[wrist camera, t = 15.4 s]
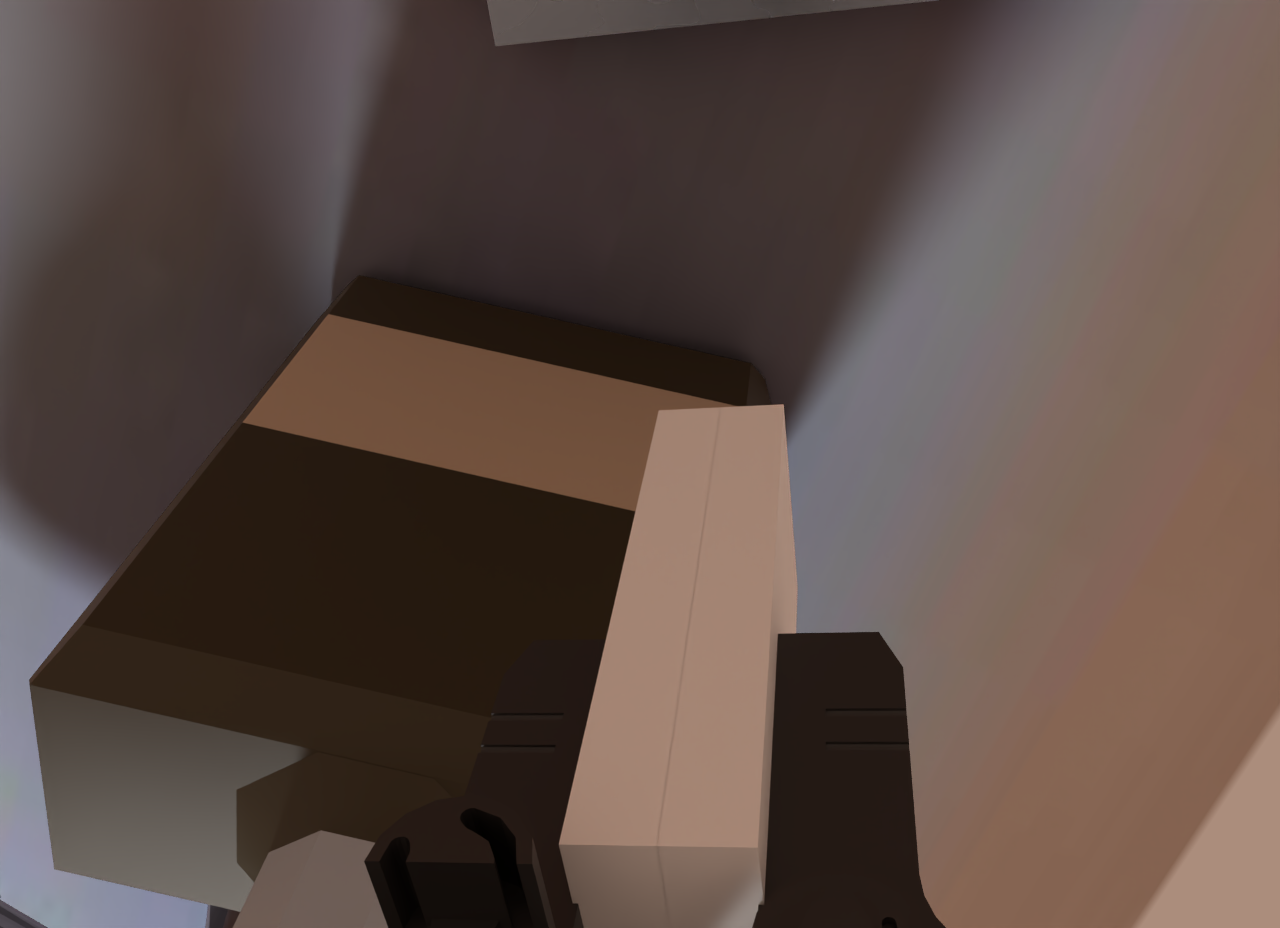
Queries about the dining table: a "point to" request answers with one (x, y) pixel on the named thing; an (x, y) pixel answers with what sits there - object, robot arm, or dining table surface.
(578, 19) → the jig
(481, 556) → the brown box
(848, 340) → the dining table surface
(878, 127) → the dining table surface
